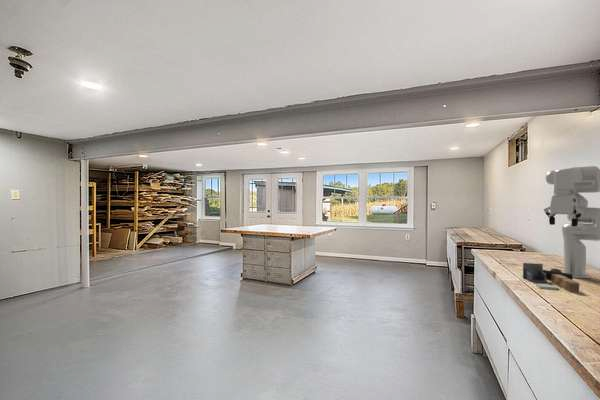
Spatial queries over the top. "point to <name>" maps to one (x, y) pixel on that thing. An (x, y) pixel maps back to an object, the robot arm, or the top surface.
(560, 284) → the walnut rail
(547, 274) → the pipe connector
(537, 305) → the top surface
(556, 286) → the pad
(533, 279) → the grey metal bracket
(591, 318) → the top surface
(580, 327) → the top surface
